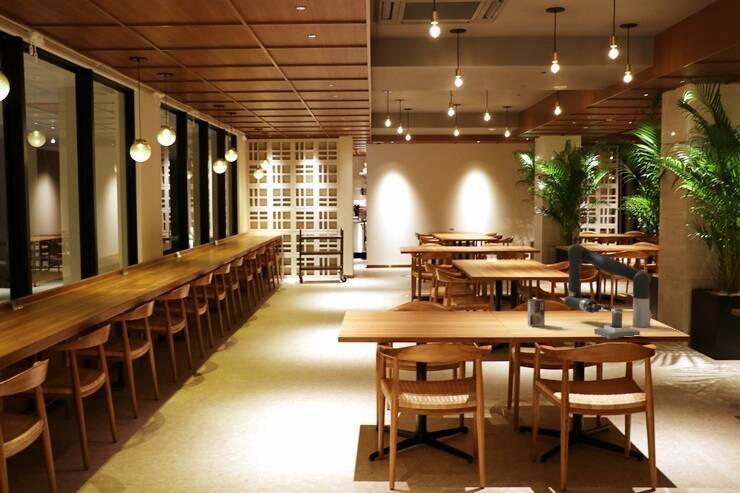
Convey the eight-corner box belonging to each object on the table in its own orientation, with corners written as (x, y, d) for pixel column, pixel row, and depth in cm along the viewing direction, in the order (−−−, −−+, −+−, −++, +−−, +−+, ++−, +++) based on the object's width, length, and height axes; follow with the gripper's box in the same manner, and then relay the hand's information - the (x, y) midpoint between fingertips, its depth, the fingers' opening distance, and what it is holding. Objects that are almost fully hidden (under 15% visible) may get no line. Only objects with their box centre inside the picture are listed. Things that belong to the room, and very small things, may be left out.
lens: (617, 328, 399) (618, 308, 398) (623, 330, 394) (624, 309, 393) (609, 329, 397) (610, 308, 396) (615, 331, 392) (616, 310, 391)
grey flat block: (623, 331, 405) (624, 323, 405) (639, 336, 392) (639, 327, 391) (594, 333, 400) (594, 325, 399) (609, 338, 386) (609, 330, 386)
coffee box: (541, 324, 427) (542, 298, 425) (544, 326, 420) (545, 300, 419) (527, 324, 427) (527, 298, 425) (529, 326, 420) (530, 300, 419)
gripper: (578, 300, 420) (594, 304, 404) (598, 298, 424) (615, 302, 408) (578, 312, 420) (594, 316, 405) (598, 310, 424) (614, 315, 409)
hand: (604, 309), depth 407 cm, fingers open, 8 cm apart
